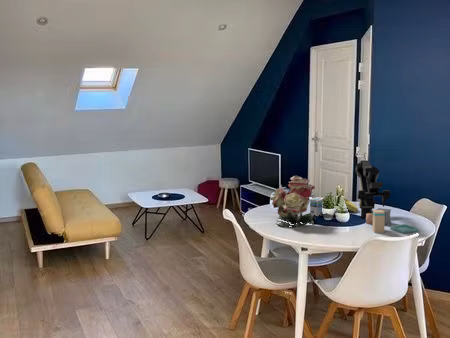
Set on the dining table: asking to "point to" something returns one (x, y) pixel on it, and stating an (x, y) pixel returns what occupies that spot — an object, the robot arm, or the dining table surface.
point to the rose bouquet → (294, 202)
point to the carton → (378, 221)
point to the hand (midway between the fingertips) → (375, 206)
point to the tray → (404, 228)
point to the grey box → (386, 215)
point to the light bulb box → (316, 206)
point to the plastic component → (350, 205)
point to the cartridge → (369, 218)
